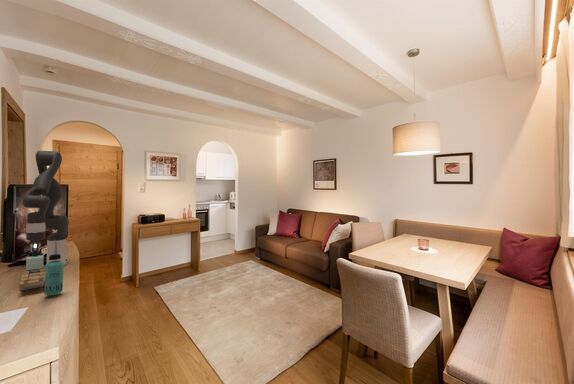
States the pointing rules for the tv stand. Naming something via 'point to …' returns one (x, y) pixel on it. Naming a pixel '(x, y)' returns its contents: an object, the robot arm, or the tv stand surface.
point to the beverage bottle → (53, 276)
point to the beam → (32, 279)
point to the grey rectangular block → (34, 263)
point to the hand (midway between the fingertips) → (35, 261)
